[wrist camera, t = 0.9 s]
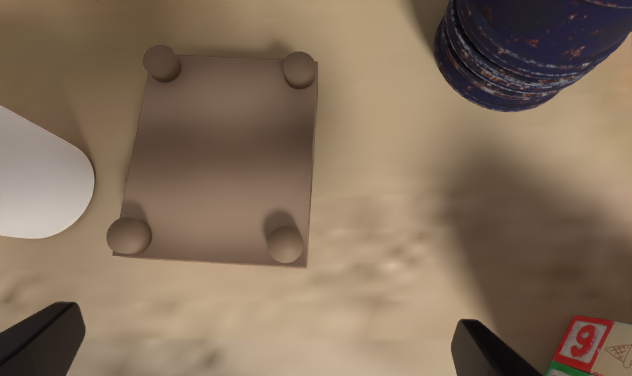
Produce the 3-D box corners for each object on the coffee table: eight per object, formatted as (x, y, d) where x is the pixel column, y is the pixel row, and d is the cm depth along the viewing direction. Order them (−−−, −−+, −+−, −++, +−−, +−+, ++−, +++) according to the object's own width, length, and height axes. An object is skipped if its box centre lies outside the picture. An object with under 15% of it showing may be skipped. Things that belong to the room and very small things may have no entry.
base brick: (306, 268, 21) (304, 266, 17) (144, 259, 22) (100, 254, 17) (317, 91, 24) (317, 51, 20) (175, 84, 25) (144, 42, 20)
